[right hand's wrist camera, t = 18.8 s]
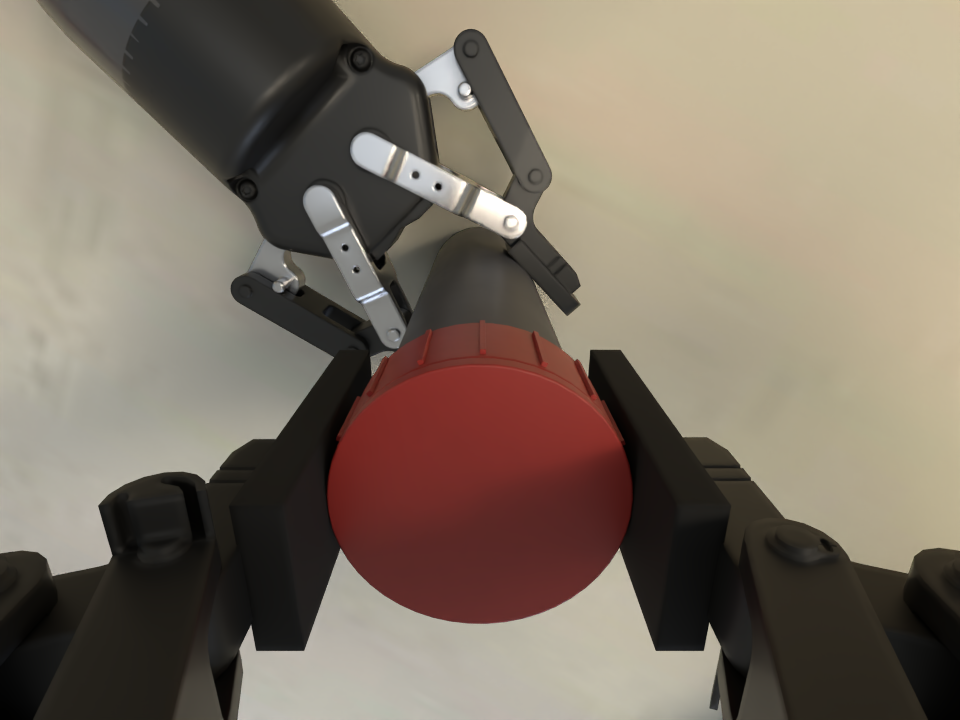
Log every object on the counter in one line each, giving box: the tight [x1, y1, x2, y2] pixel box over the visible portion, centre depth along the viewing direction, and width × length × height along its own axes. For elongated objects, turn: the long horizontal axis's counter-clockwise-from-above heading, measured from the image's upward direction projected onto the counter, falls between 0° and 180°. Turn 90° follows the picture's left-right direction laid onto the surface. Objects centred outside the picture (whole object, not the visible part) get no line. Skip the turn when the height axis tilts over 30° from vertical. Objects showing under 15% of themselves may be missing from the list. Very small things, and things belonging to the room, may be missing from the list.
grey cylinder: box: [398, 227, 562, 350], centre depth 20 cm, size 5×5×20 cm
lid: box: [327, 320, 633, 624], centre depth 11 cm, size 6×6×2 cm
